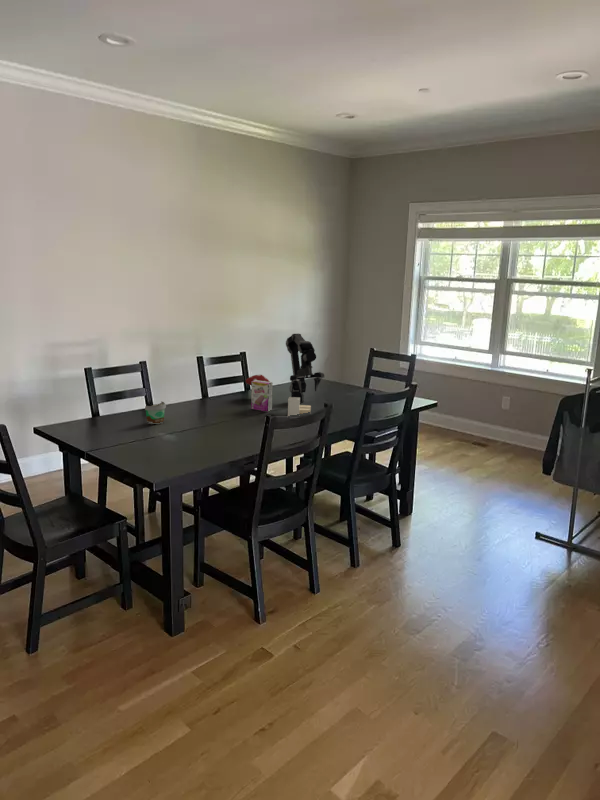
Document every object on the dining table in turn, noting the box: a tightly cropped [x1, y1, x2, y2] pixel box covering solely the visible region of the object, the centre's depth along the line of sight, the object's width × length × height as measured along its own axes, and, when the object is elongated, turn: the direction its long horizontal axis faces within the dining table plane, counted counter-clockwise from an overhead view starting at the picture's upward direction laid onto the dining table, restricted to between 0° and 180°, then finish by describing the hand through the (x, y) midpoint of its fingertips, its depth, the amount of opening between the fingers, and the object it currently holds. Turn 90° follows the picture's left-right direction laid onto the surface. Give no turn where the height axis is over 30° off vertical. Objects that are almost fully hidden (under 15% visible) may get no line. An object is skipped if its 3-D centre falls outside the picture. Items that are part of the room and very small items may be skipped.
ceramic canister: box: [287, 396, 301, 417], centre depth 336 cm, size 6×6×10 cm
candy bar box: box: [250, 380, 274, 413], centre depth 346 cm, size 11×5×16 cm, turn 65°
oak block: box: [300, 404, 312, 414], centre depth 346 cm, size 11×11×3 cm
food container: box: [144, 401, 167, 423], centre depth 315 cm, size 12×6×10 cm, turn 148°
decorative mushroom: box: [245, 374, 271, 386], centre depth 370 cm, size 16×16×15 cm
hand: (308, 392), depth 345 cm, fingers open, 9 cm apart
